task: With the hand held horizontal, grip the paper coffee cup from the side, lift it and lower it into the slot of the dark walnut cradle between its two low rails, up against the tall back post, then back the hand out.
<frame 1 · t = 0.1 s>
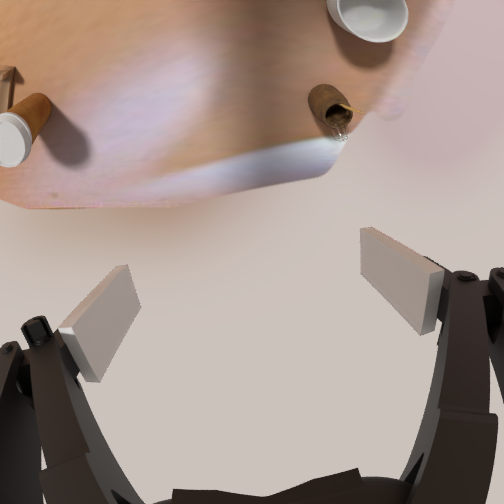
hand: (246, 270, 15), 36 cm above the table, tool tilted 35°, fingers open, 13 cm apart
utensil holder: (323, 96, 42), on the table
disposable coffee cup: (38, 107, 33), on the table
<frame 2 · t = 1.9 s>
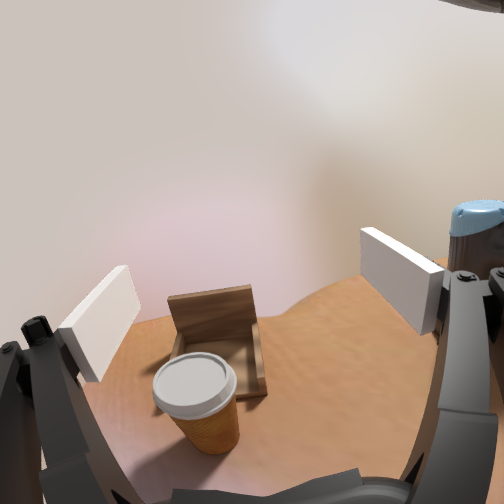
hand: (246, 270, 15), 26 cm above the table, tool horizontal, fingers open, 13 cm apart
disposable coffee cup: (216, 437, 31), on the table
cradle: (219, 367, 45), on the table
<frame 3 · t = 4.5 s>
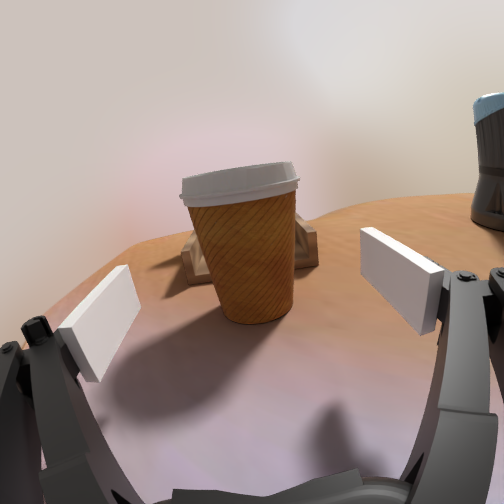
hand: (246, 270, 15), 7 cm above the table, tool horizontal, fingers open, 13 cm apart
disposable coffee cup: (258, 307, 25), on the table
cradle: (250, 252, 39), on the table
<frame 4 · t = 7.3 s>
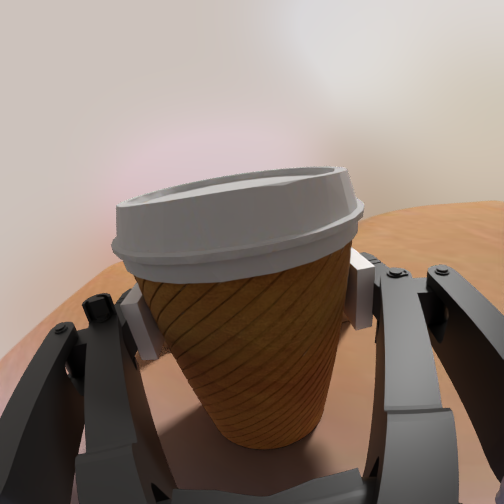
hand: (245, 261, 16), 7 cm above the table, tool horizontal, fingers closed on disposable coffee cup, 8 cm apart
disposable coffee cup: (268, 407, 14), on the table, touching gripper
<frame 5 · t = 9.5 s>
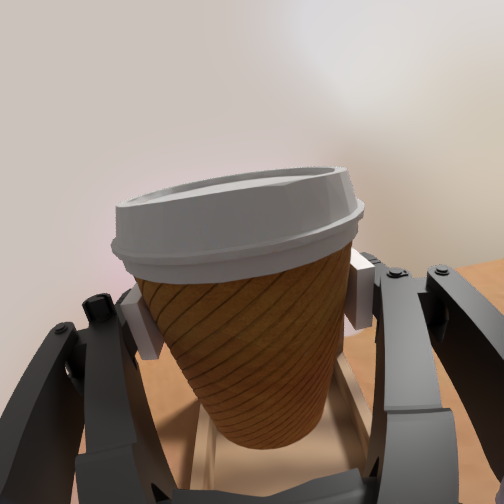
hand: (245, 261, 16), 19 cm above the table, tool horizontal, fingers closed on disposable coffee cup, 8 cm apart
disposable coffee cup: (268, 408, 14), point 11 cm above the table, touching gripper
cradle: (284, 432, 23), on the table
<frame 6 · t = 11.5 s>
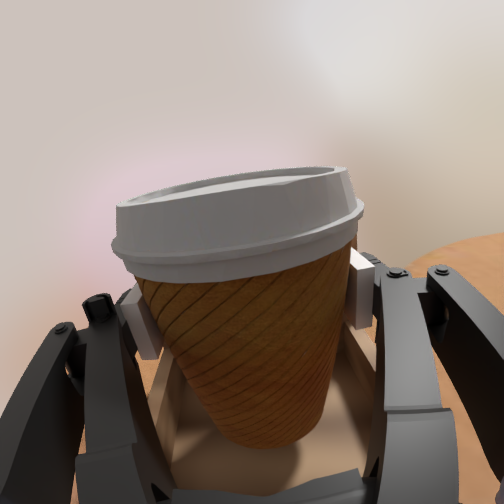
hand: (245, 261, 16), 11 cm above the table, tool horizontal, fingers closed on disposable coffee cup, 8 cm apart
disposable coffee cup: (268, 407, 14), point 4 cm above the table, touching gripper
cradle: (275, 438, 15), on the table
when the fingers open (10 cm above the table, at t = 12.2 s): disposable coffee cup drops 2 cm, resting on cradle.
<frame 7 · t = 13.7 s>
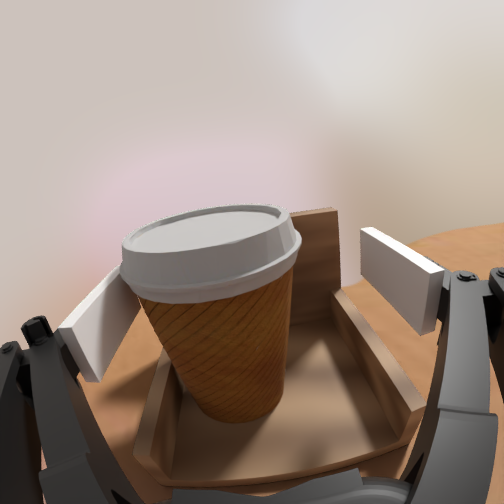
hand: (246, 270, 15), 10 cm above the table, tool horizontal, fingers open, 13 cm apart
disposable coffee cup: (239, 391, 18), point 1 cm above the table, touching cradle
cradle: (272, 388, 19), on the table
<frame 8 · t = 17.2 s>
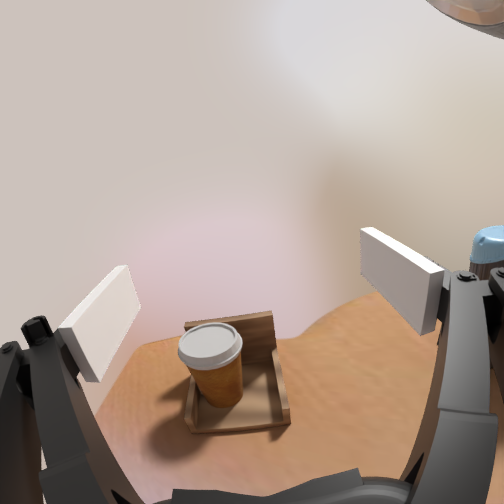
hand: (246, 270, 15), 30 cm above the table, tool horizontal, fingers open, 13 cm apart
disposable coffee cup: (224, 395, 42), point 1 cm above the table, touching cradle
cradle: (239, 394, 43), on the table
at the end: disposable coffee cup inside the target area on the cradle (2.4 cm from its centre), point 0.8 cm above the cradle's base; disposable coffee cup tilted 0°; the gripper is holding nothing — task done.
